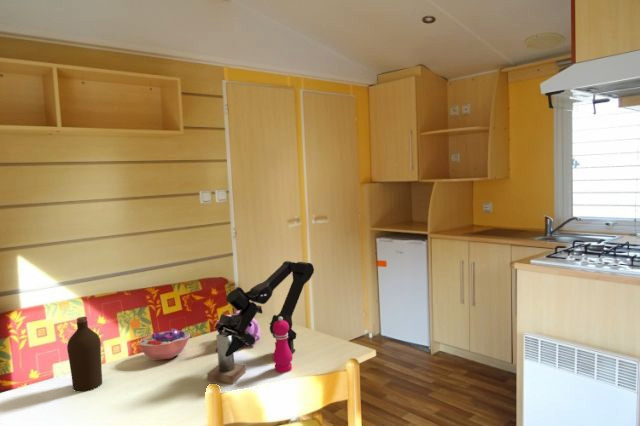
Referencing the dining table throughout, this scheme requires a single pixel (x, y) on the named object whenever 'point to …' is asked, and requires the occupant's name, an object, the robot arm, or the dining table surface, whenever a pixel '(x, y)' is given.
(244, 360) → the dining table surface
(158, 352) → the cell model
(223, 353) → the tea tin
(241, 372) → the walnut box
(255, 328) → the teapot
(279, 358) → the pepper mill
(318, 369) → the dining table surface
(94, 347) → the olive oil
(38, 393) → the dining table surface
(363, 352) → the dining table surface
